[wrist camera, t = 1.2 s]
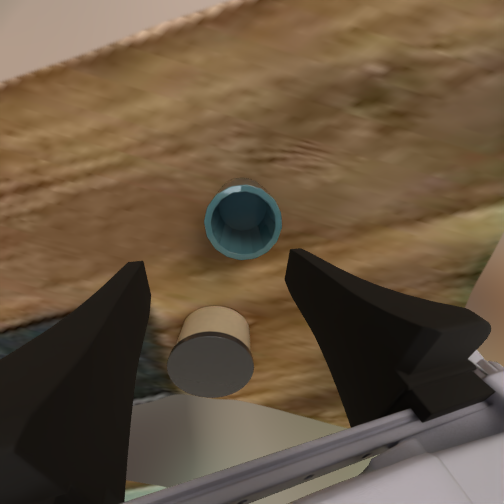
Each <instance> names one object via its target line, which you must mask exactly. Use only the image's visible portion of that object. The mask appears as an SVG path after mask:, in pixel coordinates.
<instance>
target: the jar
mask: <svg viewBox="0 0 504 504" xmlns="http://www.w3.org/2000/svg"><path fill="white" fill-rule="evenodd" d="M253 370H254V363H253V356H252V353H251V342H250V329H249V325H248V323H247V321H246V320H245V319H244V317H243V316H242V315H241V314H239V313H238V312H236V311H234V310H232V309H230V308H227V307H222V306H208V307H203V308H200V309H198V310H196V311H194V312H193V313H191V314H190V315H189V316H188V317H187V318H186V319H185V321H184V323H183V325H182V328H181V331H180V333H179V336H178V339H177V342H176V345H175V346H174V348H173V349H172V351H171V353H170V356H169V358H168V362H167V371H168V374H169V376H170V378H171V380H172V381H173V383H174V384H175V385H176V386H177V387H179V388H180V389H182V390H183V391H185V392H187V393H189V394H192V395H195V396H199V397H207V398H215V397H223V396H227V395H230V394H233V393H235V392H237V391H239V390H240V389H242V388H243V387H244V386H245V385H246V384H247V383H248V382H249V380H250V379H251V377H252V374H253Z"/></svg>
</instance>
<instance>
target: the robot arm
mask: <svg viewBox="0 0 504 504" xmlns="http://www.w3.org/2000/svg"><path fill="white" fill-rule="evenodd" d="M285 282H286V284H287V287H288V289H289V292H290V294H291V296H292V298H293V300H294V301H295V303H296V305H297V307H298V308H299V310H300V312H301V313H302V315H303V317H304V318H305V320H306V322H307V323H308V325H309V327H310V328H311V330H312V332H313V334H314V336H315V338H316V340H317V342H318V344H319V346H320V349H321V351H322V353H323V355H324V358H325V360H326V362H327V365H328V367H329V369H330V372H331V374H332V377H333V379H334V382H335V384H336V387H337V390H338V392H339V395H340V397H341V400H342V403H343V406H344V409H345V412H346V414H347V417H348V420H349V423H350V426H351V428H349V429H346V430H343V431H340V432H337V433H334V434H330V435H327V436H324V437H321V438H318V439H315V440H312V441H309V442H306V443H303V444H300V445H297V446H294V447H291V448H288V449H285V450H282V451H279V452H276V453H273V454H270V455H266V456H263V457H261V458H257V459H254V460H252V461H248V462H245V463H242V464H239V465H236V466H233V467H230V468H227V469H224V470H221V471H218V472H215V473H212V474H209V475H206V476H203V477H200V478H196V479H194V480H190V481H187V482H184V483H181V484H178V485H175V486H172V487H169V488H166V489H163V490H160V491H157V492H154V493H151V494H148V495H145V496H142V497H139V498H136V499H133V500H129V501H126V502H124V499H125V484H126V471H127V457H128V446H129V435H130V423H131V415H132V406H133V396H134V388H135V380H136V373H137V367H138V362H139V357H140V353H141V349H142V344H143V340H144V336H145V332H146V327H147V323H148V318H149V313H150V302H151V293H150V288H149V284H148V280H147V275H146V271H145V267H144V262H143V261H136V262H128V263H127V264H126V265H125V266H124V267H123V268H121V269H120V270H119V271H118V272H117V273H116V274H115V275H114V276H113V277H112V278H111V279H110V280H109V281H108V282H107V283H106V284H105V285H104V286H103V287H101V288H100V289H99V290H98V291H97V292H96V293H95V294H93V295H92V296H91V297H90V298H89V299H88V300H86V301H85V302H84V303H83V304H82V305H80V306H79V307H78V308H77V309H76V310H74V311H73V312H72V313H70V314H69V315H68V316H66V317H65V318H64V319H62V320H61V321H59V322H58V323H57V324H55V325H54V326H53V327H51V328H50V329H48V330H47V331H45V332H44V333H42V334H41V335H39V336H37V337H36V338H34V339H33V340H31V341H30V342H28V343H26V344H25V345H23V346H22V347H20V348H19V349H17V350H15V351H14V352H12V353H11V354H9V355H7V356H6V357H4V358H2V359H0V504H249V503H251V502H254V501H256V500H259V499H262V498H264V497H267V496H270V495H272V494H275V493H278V492H280V491H283V490H285V489H288V488H291V487H293V486H296V485H298V484H301V483H304V482H307V481H309V480H312V479H314V478H317V477H320V476H322V475H325V474H328V473H330V472H333V471H336V470H338V469H341V468H343V467H346V466H349V465H351V464H354V463H357V462H359V461H362V460H365V459H367V458H370V457H372V456H375V455H378V454H379V455H378V456H376V457H374V458H372V459H371V461H370V463H369V465H368V466H367V468H366V469H365V470H364V471H363V472H362V473H361V474H359V475H358V476H356V477H353V478H351V479H348V480H345V481H342V482H339V483H337V484H335V485H332V486H329V487H327V488H325V489H322V490H319V491H317V492H314V493H312V494H309V495H307V496H305V497H302V498H300V499H298V500H295V501H293V502H290V503H288V504H504V367H503V366H501V365H500V364H499V363H498V362H493V361H486V360H484V358H483V357H482V355H481V354H480V353H479V352H478V351H477V349H478V348H479V346H480V345H482V343H483V342H484V341H485V340H486V339H487V337H488V335H489V334H490V332H491V326H490V324H489V323H488V322H487V321H486V320H484V319H483V318H481V317H480V316H478V315H477V314H475V313H474V312H472V311H470V310H468V309H466V308H462V307H457V306H452V305H447V304H442V303H438V302H433V301H429V300H425V299H421V298H417V297H413V296H410V295H406V294H403V293H399V292H396V291H393V290H390V289H387V288H384V287H381V286H379V285H376V284H373V283H371V282H368V281H366V280H363V279H361V278H359V277H356V276H354V275H352V274H350V273H348V272H346V271H344V270H342V269H340V268H338V267H336V266H334V265H332V264H330V263H328V262H326V261H324V260H323V259H321V258H319V257H317V256H315V255H313V254H311V253H310V252H308V251H305V250H303V249H301V248H300V249H290V253H289V259H288V264H287V270H286V275H285Z"/></svg>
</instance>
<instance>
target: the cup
mask: <svg viewBox="0 0 504 504" xmlns="http://www.w3.org/2000/svg"><path fill="white" fill-rule="evenodd" d="M204 225H205V230H206V235H207V237H208V239H209V240H210V242H211V243H212V245H213V246H214V248H215V249H216V250H218V251H219V252H221V253H222V254H224V255H225V256H227V257H230V258H234V259H238V260H247V259H254V258H257V257H259V256H261V255H263V254H265V253H267V252H268V251H269V250H270V249H271V248H272V246H273V245H274V244H275V243H276V242H277V240H278V237H279V234H280V232H281V229H282V221H281V212H280V210H279V208H278V206H277V204H276V202H275V200H274V199H273V197H272V196H271V195H270V194H269V193H268V192H267V190H266V189H265V188H264V187H263V186H261V185H260V184H259V183H258V182H257V181H254V180H252V179H249V178H236V179H232V180H230V181H228V182H227V183H225V184H224V185H223V186H222V187H221V189H220V190H219V191H218V193H217V194H216V195H215V197H214V198H213V200H212V201H211V202H210V204H209V205H208V207H207V210H206V215H205V219H204Z"/></svg>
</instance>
